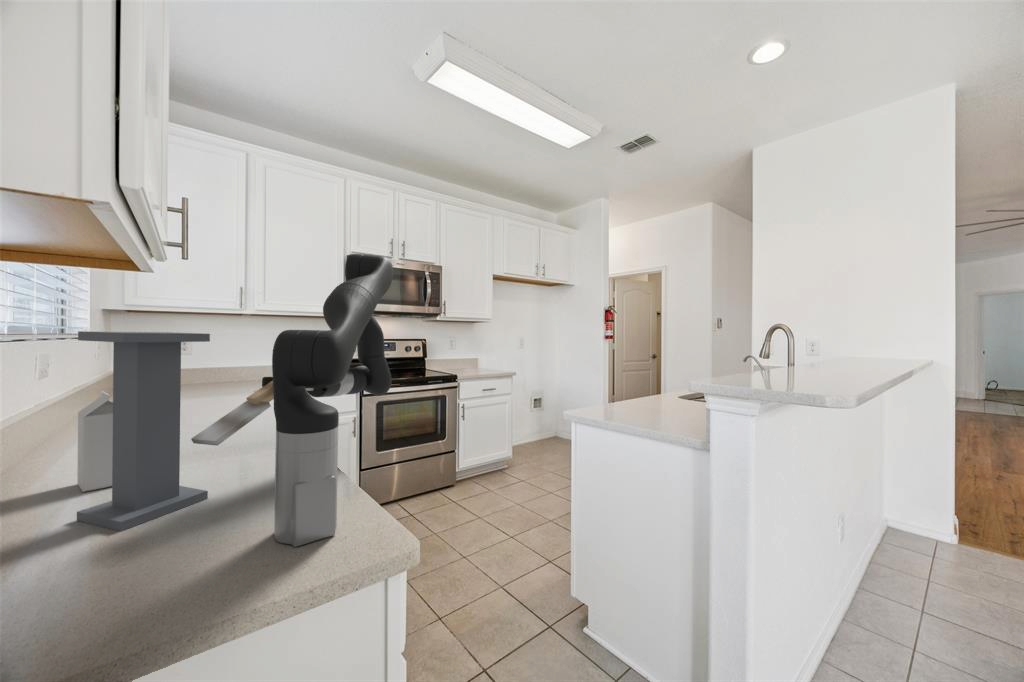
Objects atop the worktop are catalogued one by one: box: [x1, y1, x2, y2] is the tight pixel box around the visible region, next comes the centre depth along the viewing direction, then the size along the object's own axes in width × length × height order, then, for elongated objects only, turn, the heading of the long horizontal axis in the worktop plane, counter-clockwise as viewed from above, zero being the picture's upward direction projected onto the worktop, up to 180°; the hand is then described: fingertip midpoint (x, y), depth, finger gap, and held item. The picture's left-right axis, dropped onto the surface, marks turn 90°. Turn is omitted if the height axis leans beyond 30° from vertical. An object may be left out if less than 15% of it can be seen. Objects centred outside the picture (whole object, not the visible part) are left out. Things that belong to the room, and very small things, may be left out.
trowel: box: [190, 381, 274, 446], centre depth 81 cm, size 21×6×2 cm, turn 162°
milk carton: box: [77, 390, 113, 493], centre depth 86 cm, size 7×7×19 cm
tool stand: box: [76, 331, 211, 532], centre depth 74 cm, size 14×11×32 cm
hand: (269, 382), depth 85 cm, fingers closed on trowel, 2 cm apart
